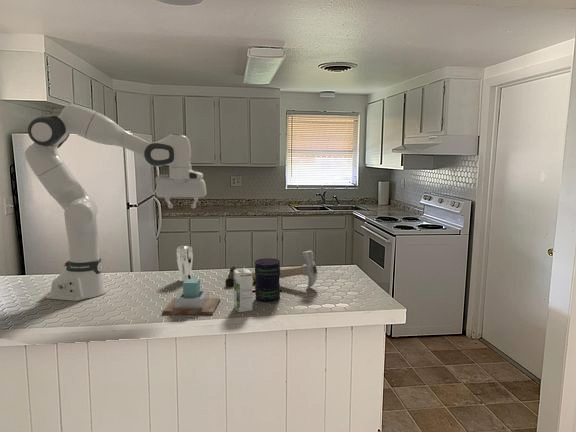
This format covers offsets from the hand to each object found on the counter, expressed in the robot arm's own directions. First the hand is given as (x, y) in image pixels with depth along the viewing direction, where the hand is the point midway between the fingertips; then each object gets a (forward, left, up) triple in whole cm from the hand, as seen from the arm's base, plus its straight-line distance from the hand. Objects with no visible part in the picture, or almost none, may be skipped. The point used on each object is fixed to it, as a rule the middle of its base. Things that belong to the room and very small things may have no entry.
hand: (182, 208), depth 181 cm
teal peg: (+9, -23, -33) cm, 41 cm away
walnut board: (+9, -23, -34) cm, 42 cm away
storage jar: (+36, -12, -34) cm, 51 cm away
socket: (+9, -23, -33) cm, 41 cm away
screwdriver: (+24, +17, -35) cm, 45 cm away
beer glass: (-3, +12, -34) cm, 36 cm away
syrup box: (+28, -24, -34) cm, 50 cm away
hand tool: (+17, +12, -35) cm, 41 cm away
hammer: (+41, +5, -34) cm, 54 cm away
